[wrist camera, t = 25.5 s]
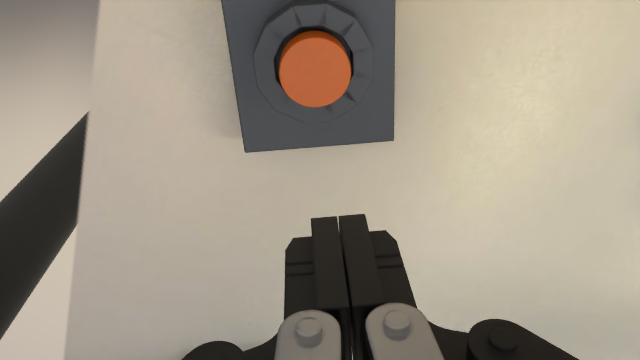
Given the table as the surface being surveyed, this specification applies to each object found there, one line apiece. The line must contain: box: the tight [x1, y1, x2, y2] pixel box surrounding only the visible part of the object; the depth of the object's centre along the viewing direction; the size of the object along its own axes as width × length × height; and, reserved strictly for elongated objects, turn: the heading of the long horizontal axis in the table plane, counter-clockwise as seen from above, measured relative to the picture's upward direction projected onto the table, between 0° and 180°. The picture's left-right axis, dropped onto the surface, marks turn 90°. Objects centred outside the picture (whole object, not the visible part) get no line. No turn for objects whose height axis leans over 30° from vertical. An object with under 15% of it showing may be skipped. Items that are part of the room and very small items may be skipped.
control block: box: [221, 0, 395, 153], centre depth 30 cm, size 12×10×4 cm
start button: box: [279, 30, 351, 107], centre depth 28 cm, size 4×4×2 cm
